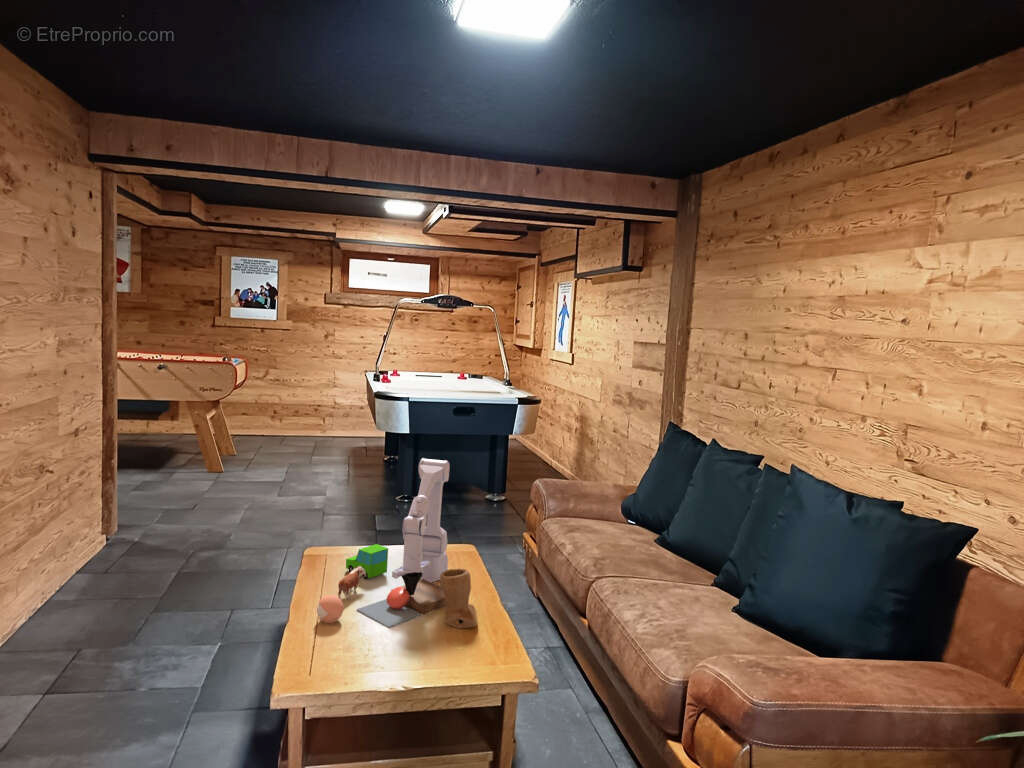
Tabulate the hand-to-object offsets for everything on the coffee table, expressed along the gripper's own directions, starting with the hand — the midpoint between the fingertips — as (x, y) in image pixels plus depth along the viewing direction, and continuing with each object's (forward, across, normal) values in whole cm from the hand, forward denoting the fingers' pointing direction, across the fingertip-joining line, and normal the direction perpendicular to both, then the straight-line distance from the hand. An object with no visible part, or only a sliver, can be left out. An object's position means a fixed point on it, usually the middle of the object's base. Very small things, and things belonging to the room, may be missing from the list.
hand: (410, 594), depth 208 cm
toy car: (+4, +6, +31) cm, 32 cm away
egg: (+4, -25, +7) cm, 26 cm away
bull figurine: (+4, -9, +19) cm, 22 cm away
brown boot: (+4, +5, -17) cm, 18 cm away
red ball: (+1, -4, +1) cm, 4 cm away
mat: (+4, -8, 0) cm, 9 cm away
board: (+4, +6, 0) cm, 7 cm away
